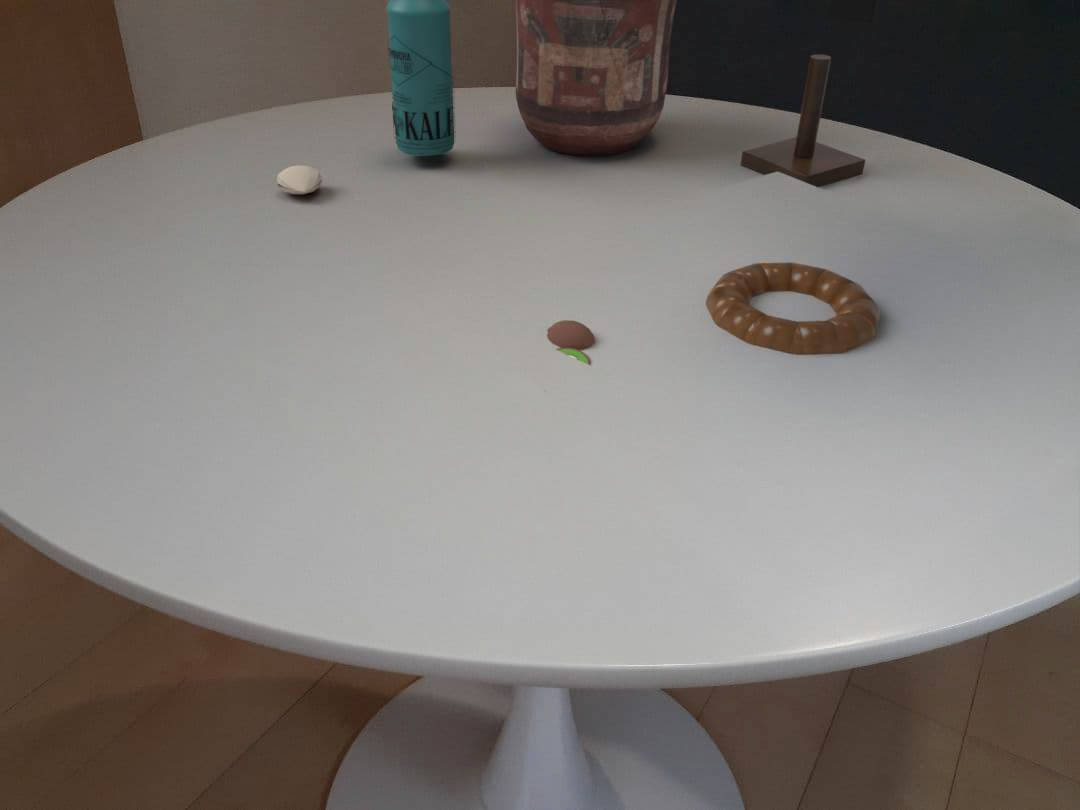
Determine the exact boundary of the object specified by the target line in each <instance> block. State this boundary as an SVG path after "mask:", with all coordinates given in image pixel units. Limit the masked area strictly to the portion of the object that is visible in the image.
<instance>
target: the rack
mask: <svg viewBox="0 0 1080 810" xmlns="http://www.w3.org/2000/svg"><path fill="white" fill-rule="evenodd" d="M831 60H832V57H831V56H830V55H827V54H819V53H818V54H811V55H810V57H809V63H808V69H807V74H806V79H805V80H806V81H805V86H804V93H803V98H802V104H801V109H800V117H799V121H798V127H797V133H796V137H792V138H788V139H784V140H781V141H777V142H772V143H769V144H765V145H762V146H758V147H757V146H756V147H753V148H749V149H746V150H742V152H741V159H740V165H741V166H743V167H745V168H748V169H751V170H754V171H755V172H758V173H760V174H763V175H770V174H773V173H777V172H778V173H780V174H783V175H785V176H788V177H789V178H794V179H796V180H798V181H800V182H803V183H805V184H808V185H810V186H813V187H815V188H818V187H822V186H824V185H828V184H831V183H835V182H838V181H841V180H845V179H848V178H851V177H854V176H855V177H856V176H858V175H861V174H863V173H864V169H865V165H866V164H865V163H866V159H865V158H862V157H859V156H857V155H855V154H851V153H848V152H845V151H843V150H839V149H837V148H835V147H831V146H829V145H826V144H823V143H820V142H818V141H817V138H818V133H819V128H820V123H821V115H822V112H823V111H822V110H823V104H824V100H825V94H826V89H827V83H828V78H829V72H830V67H831V63H832V61H831Z"/></svg>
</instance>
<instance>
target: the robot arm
mask: <svg viewBox="0 0 1080 810" xmlns="http://www.w3.org/2000/svg"><path fill="white" fill-rule="evenodd" d="M879 4H880V0H828V3H827V9H826V14H825V17H827V18H834V19H839V20H840V19H841V20H847V21H855V22H861V23H866V24H872V23H874V22H876V19H877V14H878V9H879V6H880V5H879Z"/></svg>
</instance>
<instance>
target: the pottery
mask: <svg viewBox="0 0 1080 810" xmlns="http://www.w3.org/2000/svg"><path fill="white" fill-rule="evenodd" d="M676 5H677V0H514V8H515V39H516V40H515V41H516V43H515V44H516V45H515V46H516V48H515V49H516V51H515V82H514V83H515V84H514V85H515V86H514V87H515V100H516V104H517V108H518V111H519V114H520V116H521V119H522V121H523V122H524V125H525V127H526V130H527V131H528V132H529V134H531V136H532V137H533V138H534V139H535V140H536V141H537V142H538V143H539V142H540V143H541V144H540V143H539V144H540V145H541V146H543V145H544V146H545V147H544V146H543V147H544V148H546V147H548V148H550V149H549V150H551V149H552V150H551V151H553V150H554V151H553V152H556V151H559V152H558V153H561V152H563V153H562V154H565V153H566V154H565V155H569V154H571V155H570V156H582V157H598V156H599V157H604V156H605V157H606V156H610V155H616V154H621V153H624V152H626V151H627V152H628V151H629V150H632V149H633V148H635V146H637V145H638V144H639V143H640V142H641V141H642V140H644V139H645V137H647V136H648V135H649V134H650V133H652V131H653V129H654V127H655V126H656V124H657V122H658V121H659V119H660V117H661V115H662V112H663V109H664V105H665V100H666V93H667V88H668V78H669V77H668V76H669V75H668V74H669V58H670V45H671V44H670V43H671V38H672V30H673V23H674V16H675V10H676ZM548 148H547V149H548Z"/></svg>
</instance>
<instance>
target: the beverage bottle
mask: <svg viewBox="0 0 1080 810" xmlns="http://www.w3.org/2000/svg"><path fill="white" fill-rule="evenodd" d="M450 13H451V6H450V4H449V3H448V2H447V1H446V0H389V2H388V3H387V5H386V14H387V26H388V41H387V43H388V46H387V52H388V56H389V58H388V63H389V64H390V65H389V66H388V67H389V68H388V69H389V71H390V72H389V75H390V76H391V77H390V78H391V87H392V88H391V95H392V97H391V99H392V101H391V102H392V103H391V110H392V123H393V124H392V125H393V127H392V128H394V135H393V136H394V137H393V139H394V143H395V144H396V146H397V149H398V151H399V152H401V153H404V154H406V155H410V156H418V157H428V156H437V155H442V154H446V153H448V152H450V151H451V150H453V148H454V145H455V142H456V140H457V139H456V138H455V137H456V133H457V132H456V123H455V122H456V119H455V116H456V113H455V112H454V109H456V107H455V105H456V104H455V101H454V99H455V96H454V84H455V81H453V80H455V79H454V77H453V72H452V71H453V70H452V69H453V68H452V45H451V44H452V43H451V40H452V39H451V15H450Z"/></svg>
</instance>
